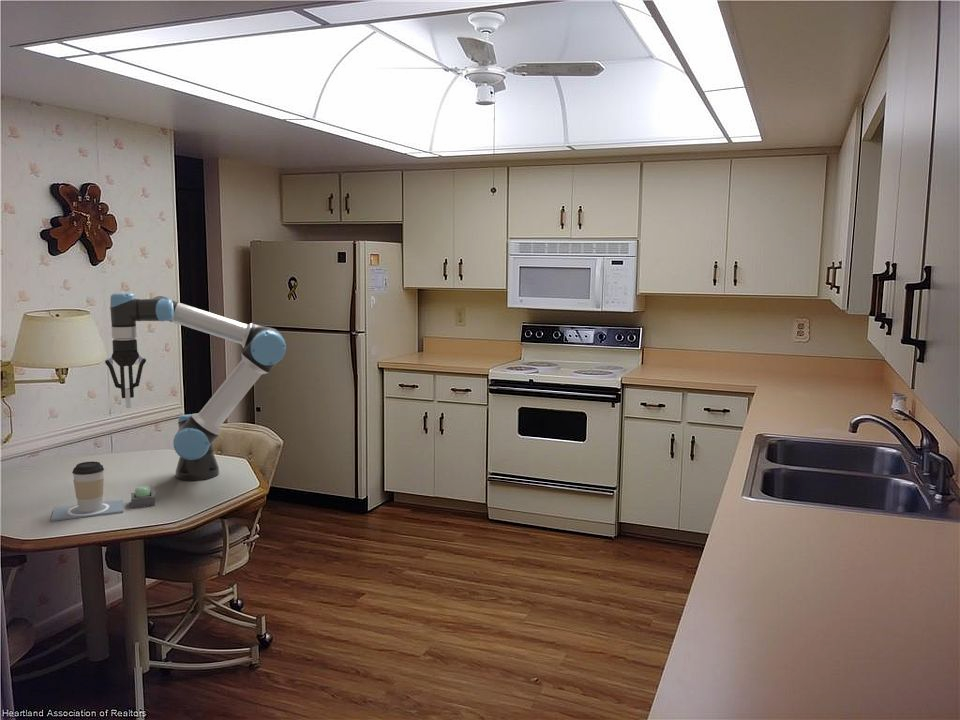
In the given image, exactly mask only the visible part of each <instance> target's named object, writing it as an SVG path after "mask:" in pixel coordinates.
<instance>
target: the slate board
mask: <svg viewBox="0 0 960 720" xmlns="http://www.w3.org/2000/svg"><path fill="white" fill-rule="evenodd" d="M123 513H124V499H118V500H117V499H116V500H109V501H108V500H107V501H102V508H101V509H100V510H97V511H93V512H80V511H79V510H78V504H73V505H72V504H71V505H64V506H56V507H54V508H53V512H52V515H51V518H50V522H57V521H65V520H74V519H81V518H82V519H83V518H91V517H100V516H108V515H114V514H123Z"/></svg>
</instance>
